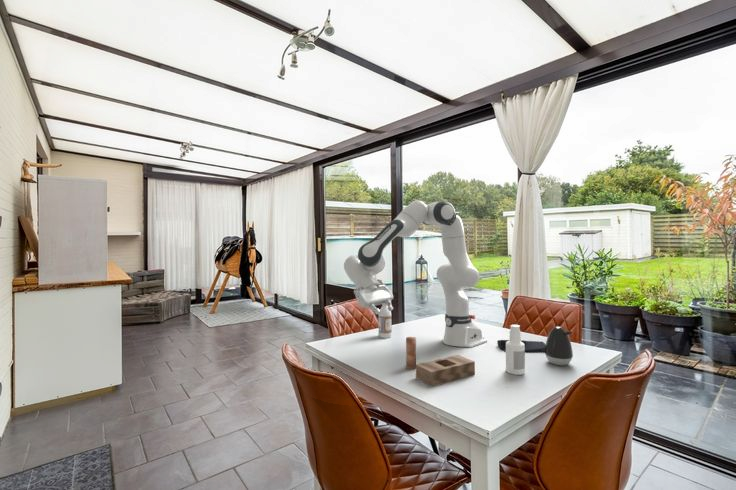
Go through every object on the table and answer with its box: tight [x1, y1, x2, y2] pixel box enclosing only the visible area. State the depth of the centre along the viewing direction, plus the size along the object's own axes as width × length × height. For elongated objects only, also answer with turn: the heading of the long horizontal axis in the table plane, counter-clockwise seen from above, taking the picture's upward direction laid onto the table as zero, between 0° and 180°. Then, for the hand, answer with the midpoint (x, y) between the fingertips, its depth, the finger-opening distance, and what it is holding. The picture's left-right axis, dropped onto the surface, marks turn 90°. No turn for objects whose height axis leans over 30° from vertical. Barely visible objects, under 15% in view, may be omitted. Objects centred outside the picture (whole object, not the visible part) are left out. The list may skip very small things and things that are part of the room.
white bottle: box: [505, 324, 526, 376], centre depth 136 cm, size 7×7×18 cm
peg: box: [405, 336, 417, 371], centre depth 141 cm, size 4×4×12 cm
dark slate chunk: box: [496, 339, 546, 353], centre depth 165 cm, size 15×22×5 cm
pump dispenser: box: [544, 326, 574, 367], centre depth 144 cm, size 10×10×15 cm
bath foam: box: [377, 304, 393, 339], centre depth 187 cm, size 7×7×20 cm
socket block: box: [415, 354, 476, 387], centre depth 132 cm, size 21×9×5 cm, turn 119°
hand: (385, 311), depth 149 cm, fingers open, 8 cm apart
